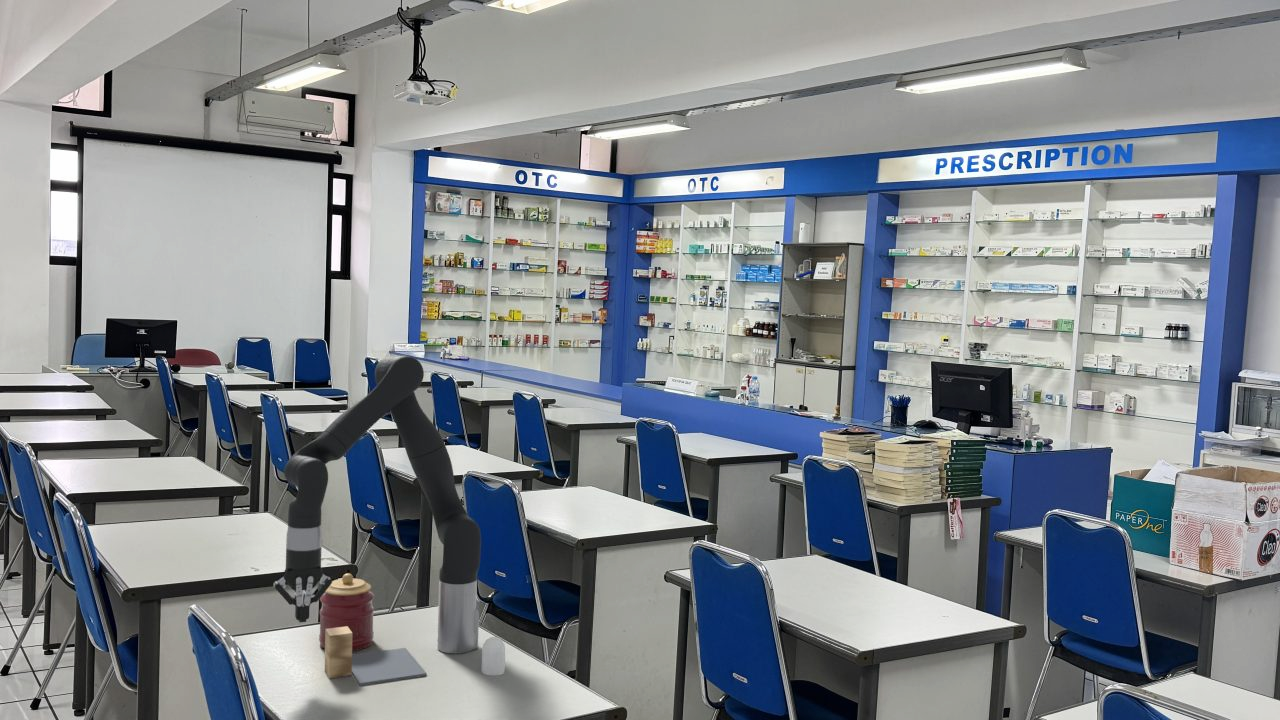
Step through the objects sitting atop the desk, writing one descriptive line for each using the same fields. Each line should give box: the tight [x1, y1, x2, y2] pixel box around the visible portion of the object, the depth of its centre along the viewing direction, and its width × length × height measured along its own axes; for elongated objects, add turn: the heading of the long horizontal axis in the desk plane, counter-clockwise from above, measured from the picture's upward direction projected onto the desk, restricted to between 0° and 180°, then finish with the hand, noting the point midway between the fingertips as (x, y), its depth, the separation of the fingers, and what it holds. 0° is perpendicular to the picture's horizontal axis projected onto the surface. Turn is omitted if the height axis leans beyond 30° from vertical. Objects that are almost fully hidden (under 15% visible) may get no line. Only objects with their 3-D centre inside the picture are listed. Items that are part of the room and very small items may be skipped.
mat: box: [352, 647, 427, 687], centre depth 237 cm, size 15×18×1 cm
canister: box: [318, 573, 375, 652], centre depth 251 cm, size 13×13×18 cm
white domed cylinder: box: [481, 636, 506, 676], centre depth 237 cm, size 5×5×8 cm
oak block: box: [324, 626, 353, 680], centre depth 232 cm, size 5×5×10 cm
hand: (301, 621), depth 228 cm, fingers closed
